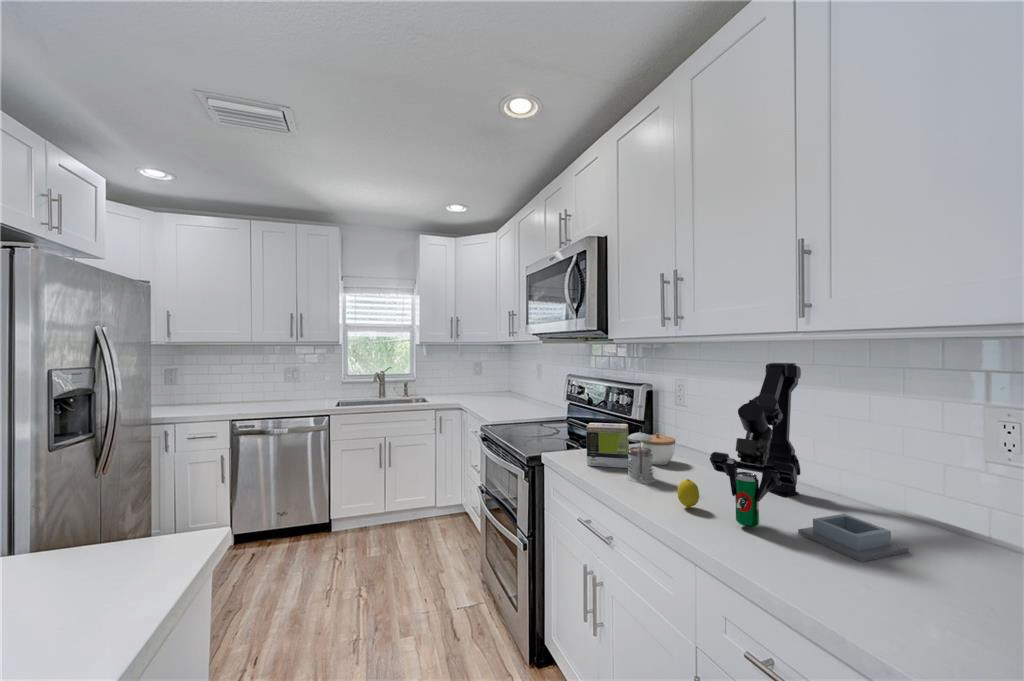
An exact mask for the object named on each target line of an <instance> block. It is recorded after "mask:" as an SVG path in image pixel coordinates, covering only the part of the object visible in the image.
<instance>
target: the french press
mask: <svg viewBox="0 0 1024 681" xmlns="http://www.w3.org/2000/svg"><path fill="white" fill-rule="evenodd" d="M643 407H644V406H643V404H641V403H638V404H637V405H636V408H638V409H639V414H641V408H643ZM650 435H651V434H647V433H645V432H644V433H643V432H641V431H639V432H634V433H631V434H628V439H629V441H633V442H639V444H637V446H633V447H629V453H628V458H629V459H628V461H629V463H628V468H627V470H628V471H627V473H628V474H627V475H626V476H625V477H624V478H625V479H626V480H627V481H629V482H632V483H636V484H637V483H638V484H652V483H654V482H656V481H657V479H656V478H655V477H654V472H653V468H652V467H653V465H654V464H651V463H653V460H652V461H650V460H651V459H653V455H652V454H651V453H650V452H651V449H648V448H644V445H643V448H641V442H645V441H650V440H652V439H653V438H652V437H651V436H650Z"/></svg>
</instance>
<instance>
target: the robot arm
mask: <svg viewBox="0 0 1024 681" xmlns="http://www.w3.org/2000/svg"><path fill="white" fill-rule="evenodd" d="M801 372H802V369H801V367H800V366H798V365H797V364H796V363H795V362H769V363H766V365H765V375H764V378H763V382H762V385H761V388H760V392H759V393H758V395H757V396H754V397H753V398H752V399H749V400H748V402H746V403H743V404H741V405H740V407H739V408H738V410H737V414H738V417H739V420H740V422H741V425H742V428H743V429H744V430H745V431H746V435H745V437H744V438H742V437H741V438H740V437H737V438H736V442H735V452H737V455H736V456H737V457H738V459H739V460H736V459H735V458H733V457H730V455H729V453H726V452H718V451H713V452H712V453H711V454H710V457H709V461H710V464H711V465H712V467H713V470H714V471H716V472H720V473H723V474H725V475H726V476H727V477H729V483H730V491H731V495H732V497H735V477H736V475H737V473H738V469H740V470H742V471H743V470H745V471H748V472H756V473H760V474H762V475H761V480H760V483H759V489H758V493H757V501H758V502H759V503H760V501H762V499H763V498H764V497H765V496H766V495H767V493H772V494H775V495H778V496H781V497H789V496H796V495H800V492H798V491H797V484H798V476H801V465H800V460H799V459H798V456H797V454H796V450H795V448H794V446H793V444H792V442H791V441H790V433H791V432H790V430H791V428H790V427H791V407H792V406H791V405H792V393H793V391H794V390H795V388H797V386H798V384H799V379H801V375H802V373H801ZM770 426H772V428H771V427H770Z"/></svg>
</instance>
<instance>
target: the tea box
mask: <svg viewBox="0 0 1024 681" xmlns="http://www.w3.org/2000/svg"><path fill="white" fill-rule="evenodd" d="M585 429H586V430H585V432H586V436H585V438H586V465H587V466H591V467H605V468H623V469H628V467H629V465H628V463H629V464H630V462H629V461H628V459H629V460H630V458H628V453H629V452H630V450H629V449H630V445H629V441H630V440H629V439H628V436H629V424H628V423H611V422H609V423H607V422H606V423H604V422H589V423H588V425H587V426H586V427H585Z"/></svg>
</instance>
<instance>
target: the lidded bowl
mask: <svg viewBox="0 0 1024 681" xmlns="http://www.w3.org/2000/svg"><path fill="white" fill-rule="evenodd" d="M649 435H650V436H651V437H652V438H653V439H652V440H650V441H645V442H641V448H643V445H644V448H648V449H651V452H650V453H651V454H652V455H653V459H651V460H650V461H652V460H653V463H651V464H650V465H652V464H653V465H657V466H662V465H663V466H664V465H668V464H669V462H670V461H672V459H673V458H674V456H675V450H676V438H674V437H672V436H668V435H661V434H660V433H659V432H656V433H655V434H649Z"/></svg>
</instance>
